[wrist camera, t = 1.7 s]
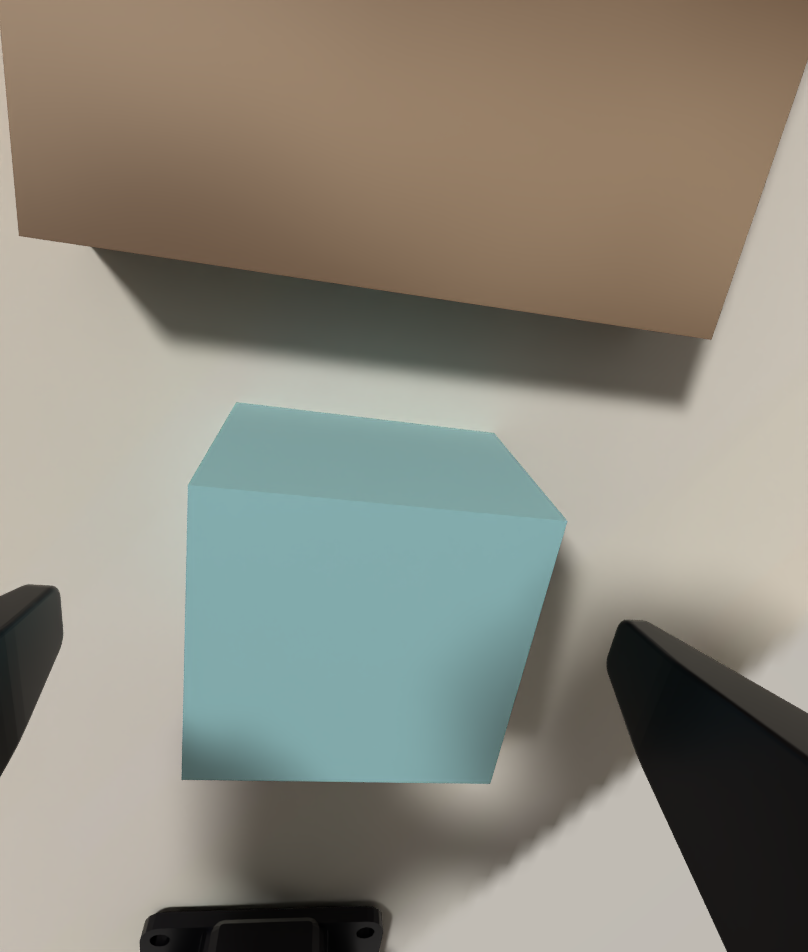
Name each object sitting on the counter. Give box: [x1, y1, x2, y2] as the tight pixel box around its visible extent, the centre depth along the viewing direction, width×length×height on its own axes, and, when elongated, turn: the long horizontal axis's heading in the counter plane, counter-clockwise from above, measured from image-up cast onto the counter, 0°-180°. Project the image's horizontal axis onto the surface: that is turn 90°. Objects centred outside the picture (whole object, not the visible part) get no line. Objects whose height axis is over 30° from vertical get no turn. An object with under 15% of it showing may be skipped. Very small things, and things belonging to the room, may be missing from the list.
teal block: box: [182, 402, 567, 784], centre depth 10 cm, size 5×5×4 cm
